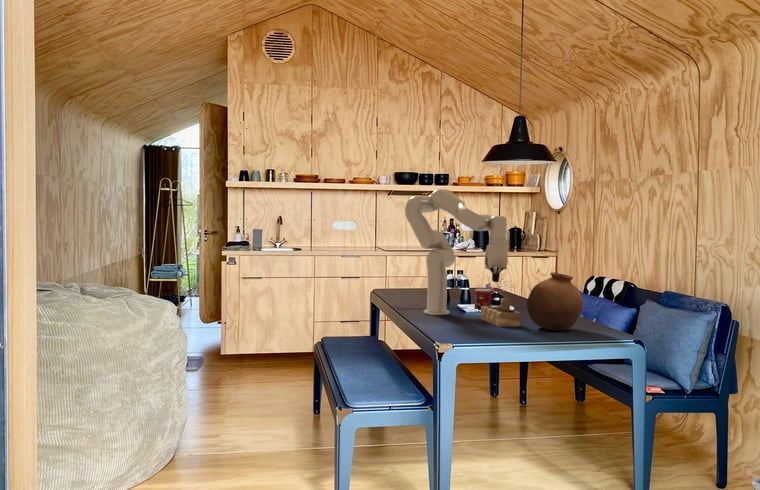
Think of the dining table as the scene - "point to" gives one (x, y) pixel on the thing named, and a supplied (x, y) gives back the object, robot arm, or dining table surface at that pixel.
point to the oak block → (500, 316)
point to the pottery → (555, 303)
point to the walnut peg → (505, 304)
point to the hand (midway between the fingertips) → (495, 281)
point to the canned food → (482, 298)
